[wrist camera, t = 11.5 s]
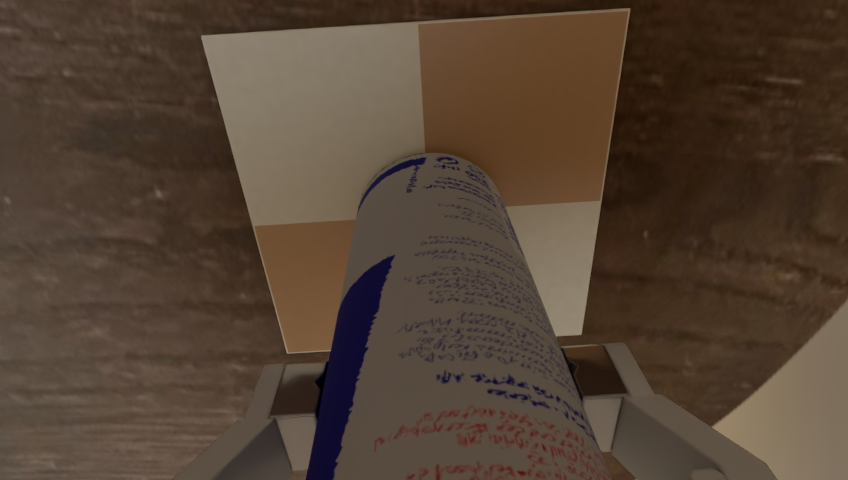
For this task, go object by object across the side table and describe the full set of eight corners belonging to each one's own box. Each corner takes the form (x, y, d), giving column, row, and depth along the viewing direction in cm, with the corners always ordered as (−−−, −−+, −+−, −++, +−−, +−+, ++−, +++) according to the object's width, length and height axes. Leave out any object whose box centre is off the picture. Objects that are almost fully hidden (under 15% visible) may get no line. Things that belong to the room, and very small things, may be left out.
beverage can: (346, 155, 17) (163, 749, 4) (501, 139, 17) (791, 702, 4) (369, 281, 20) (304, 863, 7) (503, 268, 20) (678, 836, 7)
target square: (628, 7, 16) (630, 8, 15) (580, 332, 23) (581, 334, 23) (202, 34, 16) (200, 35, 15) (287, 350, 23) (287, 353, 23)
